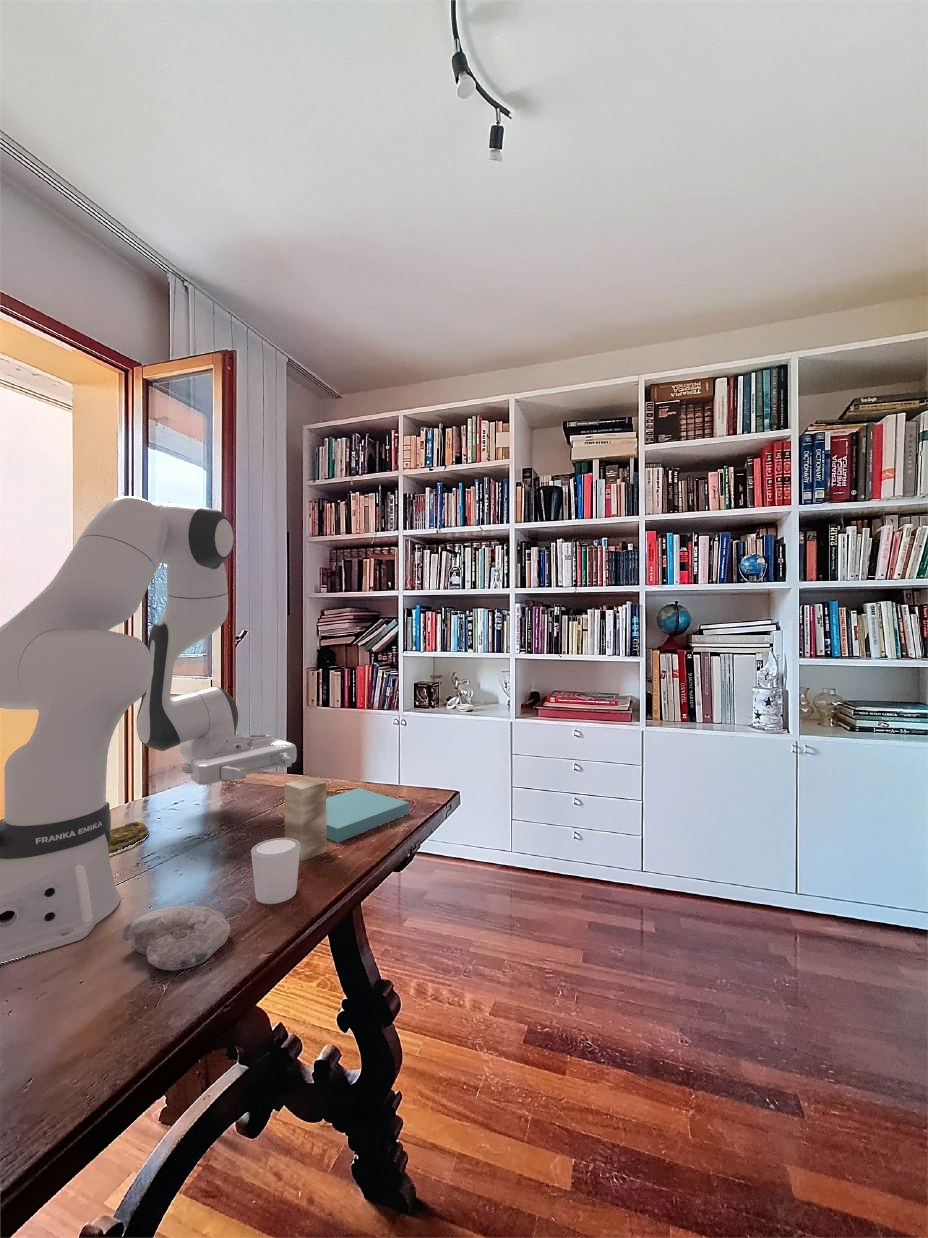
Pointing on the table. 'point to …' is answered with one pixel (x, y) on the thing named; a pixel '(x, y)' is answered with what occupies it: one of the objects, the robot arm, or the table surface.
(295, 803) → the birch block
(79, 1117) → the table surface
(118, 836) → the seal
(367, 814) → the teal board
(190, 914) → the fossil
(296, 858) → the shot glass
